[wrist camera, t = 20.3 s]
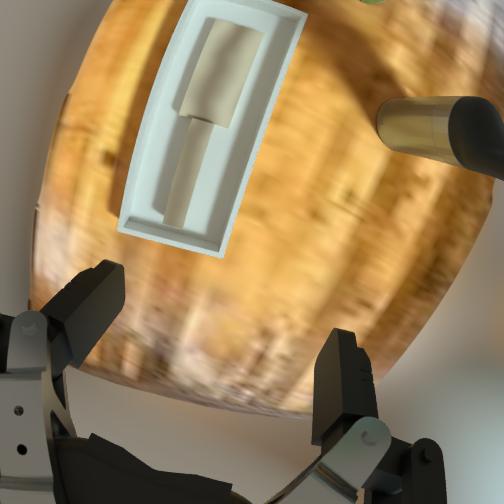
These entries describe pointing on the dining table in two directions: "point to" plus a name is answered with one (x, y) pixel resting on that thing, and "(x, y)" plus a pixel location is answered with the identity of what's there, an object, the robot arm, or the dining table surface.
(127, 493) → the robot arm
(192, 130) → the beige long bar
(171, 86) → the tray
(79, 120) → the dining table surface
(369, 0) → the plant pot
